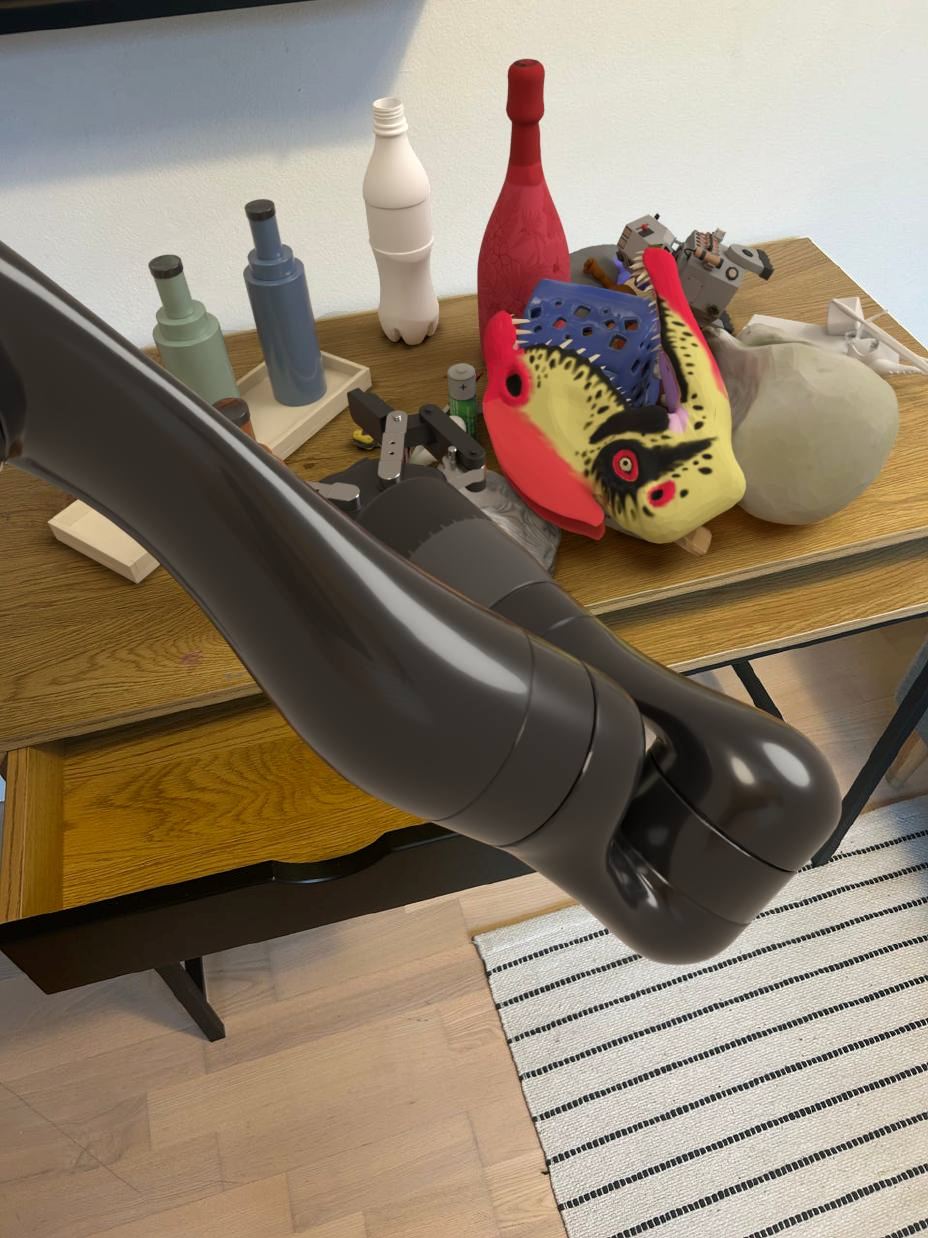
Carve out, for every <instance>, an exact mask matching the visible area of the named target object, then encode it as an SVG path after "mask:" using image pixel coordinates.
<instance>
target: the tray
mask: <svg viewBox="0 0 928 1238" xmlns="http://www.w3.org/2000/svg"><path fill="white" fill-rule="evenodd" d="M320 351H321V356H322V361H323V367H324V372H325V377H326V382H327V391H326V393H325V395H324V396H323V397H322V398H321V399H320V400H318V401H316V402H314V403H312V404H309V405H305V406H299V407H292V406H286V405H283V404H281V403H279V402H278V401H276V399H275V398H274V396H273V392H272V388H271V384H270V380H269V376H268V372H267V368H266V364H265V360H263V361H262V362H261V363H259V365H257V366H256V367H254V368H253V369H251V370H249V372H247V373H246V374H245V375H244V376H241V378H239V379H238V380H236V383H237V387H238V390H239V394H240V397H241V399H243V400H244V401H246V403H247V404H248V407H249V411H250V420H251V423H252V427H253V430H254V434H255V437H256V441H257V443H261V444H264V445H266V446H267V447H268V448H269V449H270V450H271V451H272V453H273V455H275V456H277V457H279V458H280V459H282V460H283V461H285V460H286V459H288V457H289V456H291V455H292V454H293V453H294V452H295V451H297V450H298V449H299V448H300V447H301V446H302V445H304V444H305V443H306V442H308V440H310V439H311V438H312V437H313V436H314V435H316V433H318V432H319V431H321V430H322V429H323V428H324V427H325V426H327V424H329V422H331V421H332V420H333V419H334V418H335V417H337V416H338V415H339V414H340V413H341V412H343V411H344V410H345V409H346V408H348V407H349V404H348V398H347V392H349V391H351V390H354V389H356V388H360V389H361V390H362V391H363V392H364V393H366V391H367V390H368V389H370V388H371V387H372V386H373V384H372V377H371V376H372V375H371V371H370V367H367V366H365V365H362V364H359V363H357V362H353V361H351V360H348V359H345V358H343V357H340V356H337V355H334V354H332V353H329V352H326V351H324V350H321V349H320ZM47 525H48V526H49V528H50V530H51V531H52V533H53V535H54V537H55V538H56V540H58V541H59V542H61V543H63V544H64V545H67V547H70V548H72V549H74V550H76V551H77V552H79V553H81V554H83V555H84V556H86V557H88V558H90V559H92V560H94V561H95V562H97V563H99V564H101V565H102V566H104V567H106V568H108V569H110V570H111V571H114V572H115V573H116V574H119V575H121V576H123V577H125V578H126V579H128V580H130V581H132V582H133V583H135V584H137V585H138V584H140V583H141V582H142V581H143V580H144V579H145V578H146V577H147V576H149V575H150V574H151V573H153V571H155V570H156V569H157V568H158V567H159V566H160V565H161V564H160V563H159V562H158V561H157V560H156V559H155V558H154V557H153V556H151V555H150V554H149V553H148V552H147V551H146V550H145V549H144V548H143V547H142V546H141V545H139V544H138V543H137V542H136V541H135V540H134V539H133V538H131V537H130V536H129V535H128V534H126V533H125V532H124V531H123V530H121V529H120V528H119V527H118V526H116V525H115V524H114V523H113V522H111V521H110V520H109V519H107V518H106V517H104V516H103V515H101V514H100V513H98V512H97V511H95V510H94V509H92V508H91V507H89V506H88V505H87V504H85V503H84V502H82V501H80V500H78V499H77V500H75V501H74V502H72V503H70V505H68V506H67V507H65V508H64V509H63V510H61V511H60V512H59V513H57V514H55V516H53V517H52V518H50V519H49V520H48V521H47Z"/></svg>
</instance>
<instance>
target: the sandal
mask: <svg viewBox="0 0 928 1238" xmlns="http://www.w3.org/2000/svg"><path fill="white" fill-rule="evenodd" d="M596 502H597V503H598V504H599V505H600V506H601V507H602V510H603V512H604V518H603V521H604V523H605V526H607V527H609V528H611V529H613V530H616V531H619V532H621V533H623V534H625V535H628V536H631V537H634V538H637V539H640V540H644V539H643V538H642V537H640V536H639V535H637V534H635V533H633V532H630V531H628V530H626V529H625V528H623V527H621V526H620V525H619V524H618V523H617V522H616V521H615V520H614V519H613V518H612V517H611V516H610V514H609V513H608V512H607V511H606V509H605V508H604V507H603V506H602V505H601V504H600V503H599V502H598V501H597V500H596ZM712 538H713V535H712V533H711V530H709V529H708V528H707V527H706V526H704V524H702V525H701V526H699V527H698V528H696V529H695V530H693V531H691V532H690V533H688V534H687V535H685V536H683V537H681V538H679V539H678V540H675V541H672V542H671V543H673V542H674V543H675V544H677V545H678V546H679V547H681V548H682V549H683V550H685V551H687V552H688V553H690V554H691V555H693V556H694V557H697V558H700V557H701V556H703V557H705V556H706V554H707V553H708V550H709V548H710V544H711V541H712Z"/></svg>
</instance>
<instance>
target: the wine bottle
mask: <svg viewBox="0 0 928 1238" xmlns="http://www.w3.org/2000/svg"><path fill="white" fill-rule="evenodd" d="M545 70H546V69H545V67H544V64H543V63H542V62H541V61H539V60H537V59H533V58H521V59H517V60H515V61H514V62H512V64H510V65H509V67H508V70H507V94H506V95H507V96H506V97H507V98H506V106H505V111H506V116H507V118H508V119H509V121H510V122H511V132H510V144H509V145H510V146H509V156H508V162H507V167H506V174H505V177H504V181H503V184H502V187H501V189H500V192H499V194H498V196H497V200H496V202H495V205H494V206H493V209H492V211H491V214H490V216H489V218H488V221H487V223H486V227H485V230H484V233H483V236H482V240H481V243H480V246H479V247H480V248H479V251H478V252H479V253H478V259H477V267H476V268H477V269H476V270H477V271H476V282H477V283H476V287H477V288H476V289H477V294H476V295H477V314H478V315H477V317H478V334H479V345H480V354H481V355H480V356H481V359H482V361H483V363H484V365H485V366H486V361H485V355H484V334H485V329H486V327H487V324H488V322H489V321H490V319H491V318H492V317H493V316H495V315H496V314H497V313H498V312H499V311H506V312H507V313H508V314H509V315H512V319H522V317H523V314H524V311H525V309H526V306H527V304H528V301H529V299H530V297H531V295H532V293H533V291H534V289H535V287H536V285H537V284H538V282H539V281H540V280H542V279H549V280H555V281H562V282H567V283H570V256H569V253H570V250H569V249H570V248H569V245H568V241H567V237H566V234H565V230H564V227H563V223H562V220H561V218H560V217H561V216H560V215H559V212H558V210H557V207H556V205H555V203H554V200H553V197H552V195H551V192H550V189H549V187H548V184H547V180H546V178H545V172H544V168H543V163H542V147H541V128H540V121H541V120H542V119H543V117H544V116H545V100H544V99H545V98H544V97H545V95H544V92H545V89H544V88H545V78H546V71H545ZM557 306H560V305H557ZM513 314H514V315H513ZM565 324H566V322H564V321H562V320H559V321H558V322H557V323H556V324H555V325H554V327H555V328H558V329H562V328H563V327H564V325H565ZM513 325H514V326H515V327H516V329H517V330H519V329H520V325H521V323H519V324H513ZM518 335H519V334H518ZM518 335H516V340H518Z"/></svg>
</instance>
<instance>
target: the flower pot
mask: <svg viewBox="0 0 928 1238" xmlns="http://www.w3.org/2000/svg"><path fill="white" fill-rule="evenodd" d="M645 298H646V297H643V296H639V295H637V296H635V295H631V294H626V293H621V292H616V291H612V290H608V289H603V288H598V287H592V286H586V285H581V284H575V283H567V282H562V281H555V280H549V279H542V280H540V281H539V282H538V284H537V285H536V287H535V289H534V291H533V293H532V295H531V297H530V299H529V301H528V304H527V306H526V309H525V311H524V314H523V317H522V319H528V320H529V321H530V322H526V323H521V325H520V329H519V330H528V331H531V332H532V333H529V334H519V335H518V341H529V342H525V343H520V344H519V345H520V349H521V348H523V347H526V346H529V345H532V344H540V343H545V344H546V343H547V342H548V341H550V340H551V339H552V340H551V341H550V343H549V344H548V346H554V345H561V344H563V343H564V342H566V341H567V340H569V339H570V340H572V341H571V342H570V343H569V344H568V345H567V346H566V347H565V348H563V349H566V350H568V349H573V348H574V349H575V350H576V351H578V350H580V349H582V348H583V349H586V350H584V351H583V352H582V353H580V355H582V356H585V357H588V358H590V357H592V356H594V355H596V354H598V355H600V356H599V357H598V358H596V359H595V360H594V361H593V362H591V363H592V364H593V365H596V366H599V367H604V366H606V367H605V368H603V369H602V370H603V372H604V374H605V375H606V376H608V377H609V378H610V379H611V378H613V377H614V378H613V379H612V380H610V381H611V383H612V384H613V385H614V386H615V387H616V388H620V387H621V388H620V389H618V391H619V392H620V393H622V394H623V395H624V396H625V398H626V399H631V400H629V401H627V402H628V403H629V405H630V404H631V405H630V406H631V407H633V408H635V409H636V408H640V407H644V406H647V405H655V404H656V402H657V399H658V394H659V383H660V379H655V378H654V377H653V370H654V365H655V364H658V363H656V362H655V360H654V359H655V356H656V354H657V352H658V349H657V350H654V351H652V350H653V349H654V348H655V347H657V346H658V345H659V338H656V339H652V338H653V337H654V336H656V335H658V330H656V331H653V329H655V328H657V320H654V319H655V318H657V312H656V311H654V312H652V313H650V312H651V310H653V309H654V308H656V305H655V304H653V305H651V306H649V304H650V303H652V301H653V302H654V300H655V299H651V298H647V299H645ZM557 305H560V306H557ZM648 306H649V307H648ZM580 308H582V309H584V310H587V311H590V313H589V314H588V316H587V317H585V318H583V319H582V318H578V317H575V316H574V315H575V313H576V312H577V311H578V310H579V309H580ZM649 313H650V314H649ZM559 320H562V321H564V322H566V324H565V325H564V327H563V328H562V329H558V328H555V327H554V325H555V324H556V323H557V322H558V321H559ZM653 320H654V321H653ZM609 323H614V324H615V325H614V326H613V327H612V328H607V326H608V325H609ZM634 323H636V324H637V329H636V330H626V326H625V324H634ZM585 331H590V332H591V334H590V335H584V332H585ZM652 331H653V332H652ZM615 339H618V340H619V339H622V340H624V341H625V342H626V344H625V345H624V346H623V348H622V349H621V350H617V349H616V348H614V347H611V345H612V343H613V342H614V340H615ZM651 339H652V340H651ZM651 351H652V352H651ZM635 361H636V362H635ZM634 363H635V365H634V367H633V369H632V370H631V367H632V366H633V364H634ZM644 366H645V367H644ZM643 367H644V371H643V372H642V373H641V371H642V368H643ZM623 392H624V393H623Z"/></svg>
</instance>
